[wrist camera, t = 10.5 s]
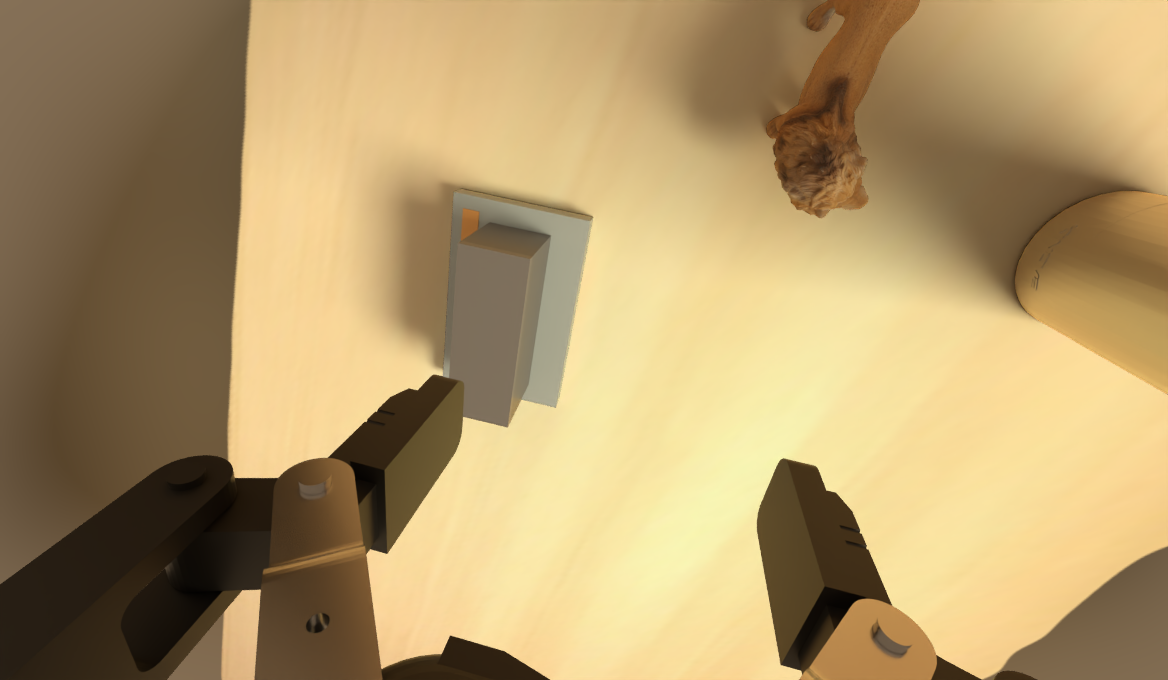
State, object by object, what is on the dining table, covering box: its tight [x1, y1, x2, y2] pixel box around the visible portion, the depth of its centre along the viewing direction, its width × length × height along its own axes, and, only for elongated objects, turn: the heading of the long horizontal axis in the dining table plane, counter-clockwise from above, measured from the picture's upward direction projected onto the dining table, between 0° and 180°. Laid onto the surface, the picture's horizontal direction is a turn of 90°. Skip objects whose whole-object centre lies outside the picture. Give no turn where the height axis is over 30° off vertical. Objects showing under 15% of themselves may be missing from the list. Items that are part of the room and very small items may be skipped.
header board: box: [443, 189, 593, 408], centre depth 37 cm, size 10×16×6 cm, turn 169°
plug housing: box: [449, 222, 551, 427], centre depth 36 cm, size 5×13×6 cm, turn 169°
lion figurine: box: [766, 0, 920, 218], centre depth 26 cm, size 15×5×9 cm, turn 172°
